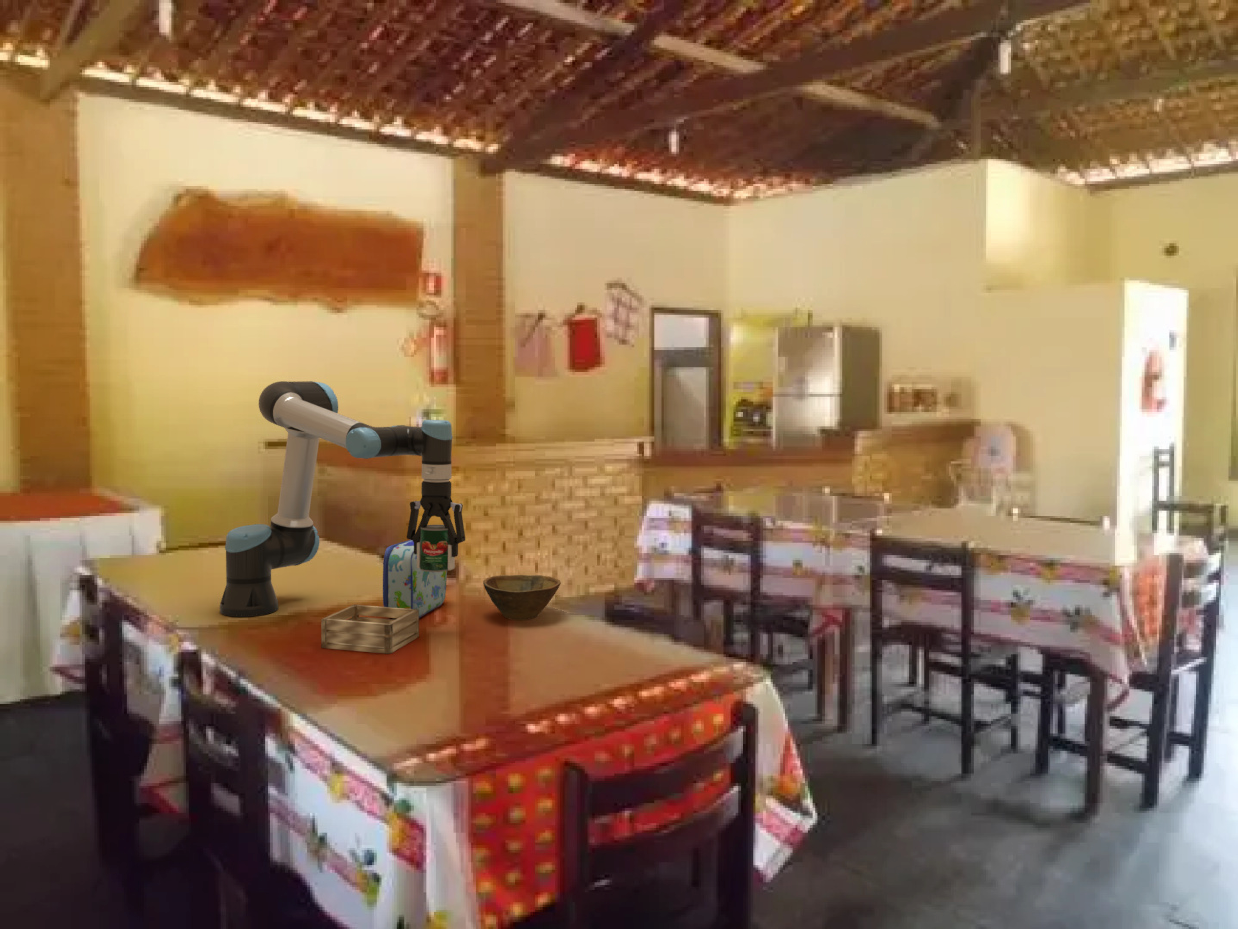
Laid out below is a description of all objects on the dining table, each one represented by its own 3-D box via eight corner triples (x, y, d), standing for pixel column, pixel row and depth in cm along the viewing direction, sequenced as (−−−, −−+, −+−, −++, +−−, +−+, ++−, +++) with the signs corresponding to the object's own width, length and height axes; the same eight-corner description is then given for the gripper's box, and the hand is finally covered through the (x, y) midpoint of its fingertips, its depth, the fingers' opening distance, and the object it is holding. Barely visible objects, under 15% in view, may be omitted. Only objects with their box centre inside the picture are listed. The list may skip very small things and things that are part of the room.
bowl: (575, 612, 269) (576, 577, 268) (535, 630, 249) (535, 593, 248) (509, 603, 278) (510, 570, 278) (465, 620, 258) (465, 584, 257)
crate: (321, 647, 229) (321, 619, 228) (354, 631, 244) (354, 604, 244) (389, 653, 225) (389, 625, 224) (418, 636, 240) (418, 609, 240)
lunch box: (416, 600, 280) (417, 530, 278) (451, 602, 278) (451, 532, 276) (377, 621, 255) (377, 544, 253) (414, 624, 253) (414, 546, 251)
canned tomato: (424, 573, 239) (425, 530, 238) (416, 567, 246) (416, 525, 245) (455, 570, 243) (455, 528, 242) (446, 565, 250) (446, 523, 249)
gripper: (392, 479, 241) (392, 567, 243) (468, 483, 236) (467, 573, 238) (405, 476, 248) (405, 562, 250) (479, 480, 244) (478, 568, 246)
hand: (435, 567), depth 244 cm, fingers closed on canned tomato, 8 cm apart
